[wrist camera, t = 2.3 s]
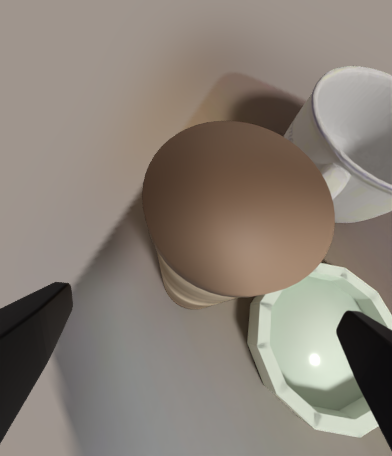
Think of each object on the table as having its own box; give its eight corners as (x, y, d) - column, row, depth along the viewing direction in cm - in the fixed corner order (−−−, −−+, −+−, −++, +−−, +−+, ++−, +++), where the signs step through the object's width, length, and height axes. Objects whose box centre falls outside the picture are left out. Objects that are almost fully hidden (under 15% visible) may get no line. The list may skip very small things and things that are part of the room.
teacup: (317, 129, 25) (379, 49, 17) (392, 204, 22) (504, 146, 15) (216, 180, 21) (241, 105, 13) (292, 280, 18) (377, 254, 11)
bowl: (407, 381, 16) (437, 389, 14) (289, 450, 14) (307, 471, 12) (332, 252, 19) (349, 245, 17) (227, 292, 17) (233, 289, 15)
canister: (236, 297, 17) (372, 253, 5) (173, 321, 16) (179, 331, 4) (212, 238, 19) (279, 108, 7) (153, 256, 18) (121, 139, 6)
